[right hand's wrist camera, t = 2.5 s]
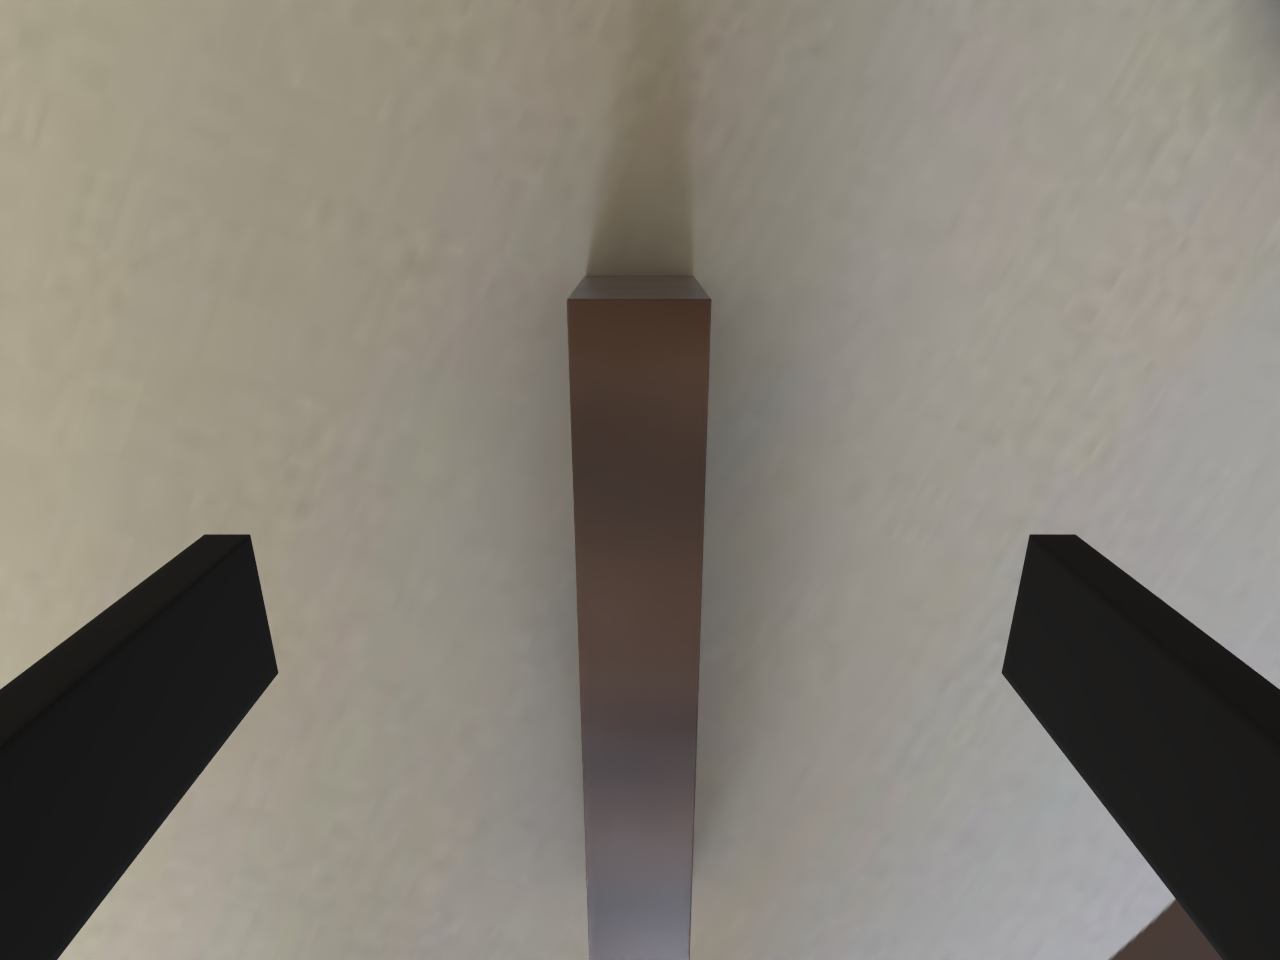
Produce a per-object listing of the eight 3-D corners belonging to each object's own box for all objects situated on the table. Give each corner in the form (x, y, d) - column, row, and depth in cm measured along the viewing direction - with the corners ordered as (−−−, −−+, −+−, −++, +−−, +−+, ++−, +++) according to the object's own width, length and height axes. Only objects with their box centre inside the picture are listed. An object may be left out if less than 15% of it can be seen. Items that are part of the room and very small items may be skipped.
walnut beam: (584, 275, 27) (566, 298, 20) (694, 275, 27) (711, 299, 20) (600, 886, 37) (591, 1031, 31) (678, 886, 37) (687, 1031, 31)
